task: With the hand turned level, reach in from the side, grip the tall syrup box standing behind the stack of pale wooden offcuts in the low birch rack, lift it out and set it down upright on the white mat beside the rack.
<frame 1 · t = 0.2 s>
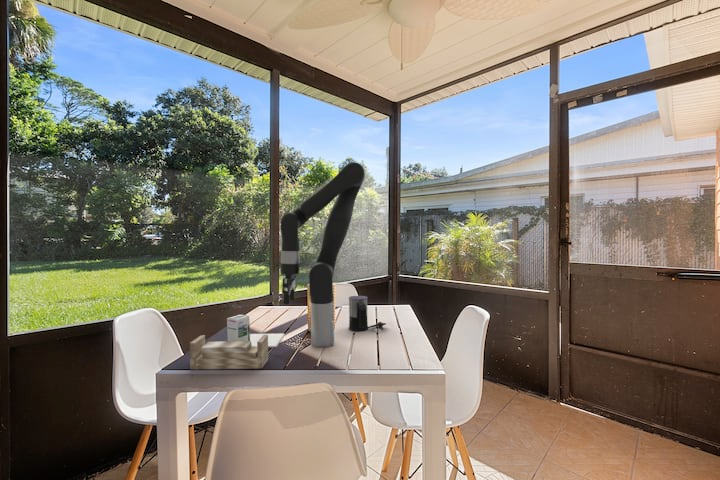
hand: (289, 302, 136), 17 cm above the table, tool pointing down, fingers open, 8 cm apart
offcut rack: (230, 364, 116), on the table
syrup box: (239, 355, 125), on the table
milk frother: (367, 329, 157), on the table
white mat: (261, 341, 140), on the table
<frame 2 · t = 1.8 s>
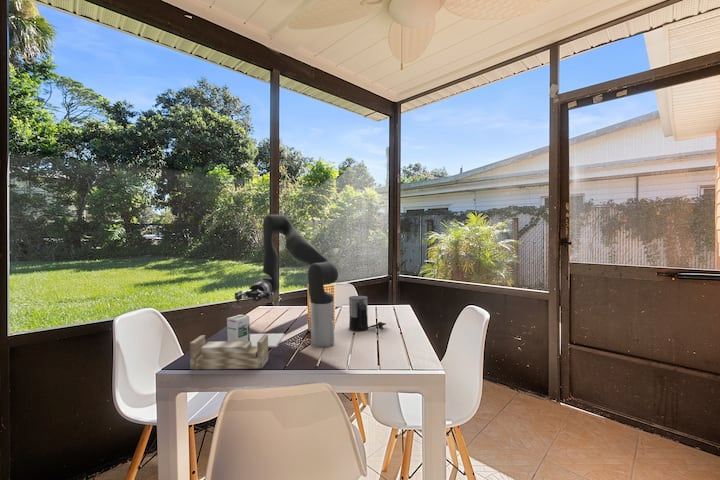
hand: (248, 298, 136), 19 cm above the table, tool horizontal, fingers open, 8 cm apart
nothing on the table moved.
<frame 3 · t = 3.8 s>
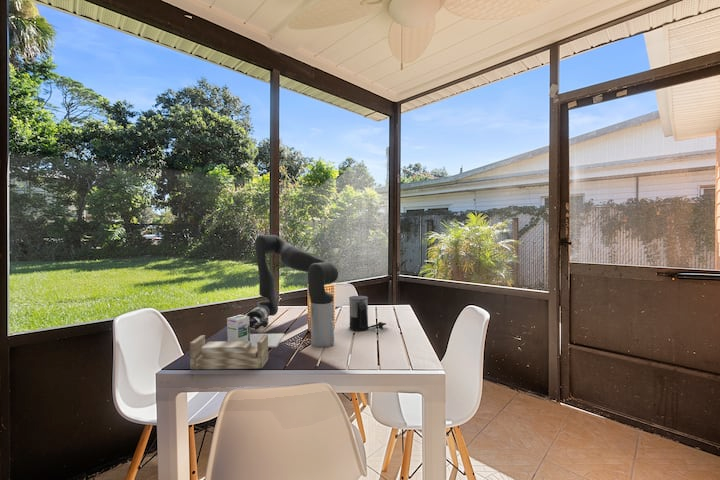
hand: (244, 327, 131), 8 cm above the table, tool horizontal, fingers open, 8 cm apart
nothing on the table moved.
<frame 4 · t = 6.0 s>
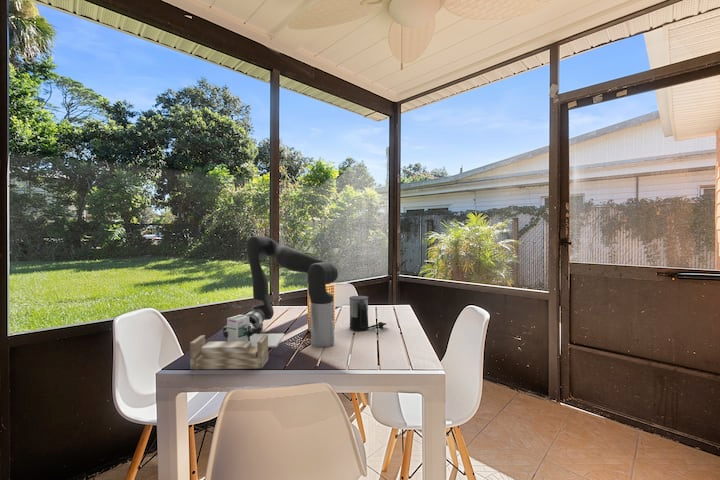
hand: (237, 334, 123), 8 cm above the table, tool horizontal, fingers closed on syrup box, 8 cm apart
syrup box: (239, 355, 125), on the table, touching gripper
everything else where it was.
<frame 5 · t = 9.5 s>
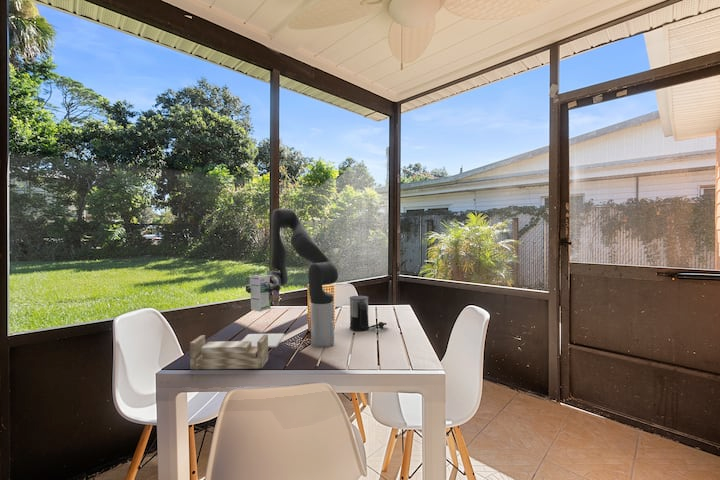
hand: (259, 290, 138), 22 cm above the table, tool horizontal, fingers closed on syrup box, 8 cm apart
syrup box: (260, 310, 140), point 13 cm above the table, touching gripper
everything else where it was.
when the fingers open (10 cm above the table, at t = 12.8 s): syrup box drops 1 cm, resting on white mat.
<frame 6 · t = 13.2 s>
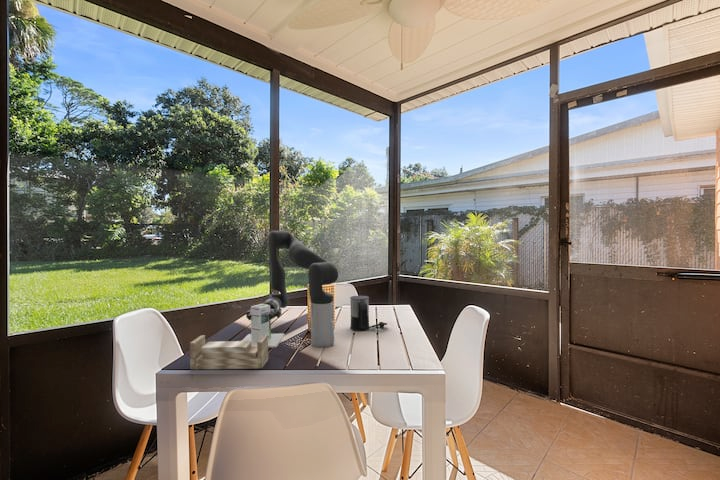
hand: (259, 317, 138), 10 cm above the table, tool horizontal, fingers open, 8 cm apart
syrup box: (261, 339, 141), resting on white mat, touching gripper
everything else where it was.
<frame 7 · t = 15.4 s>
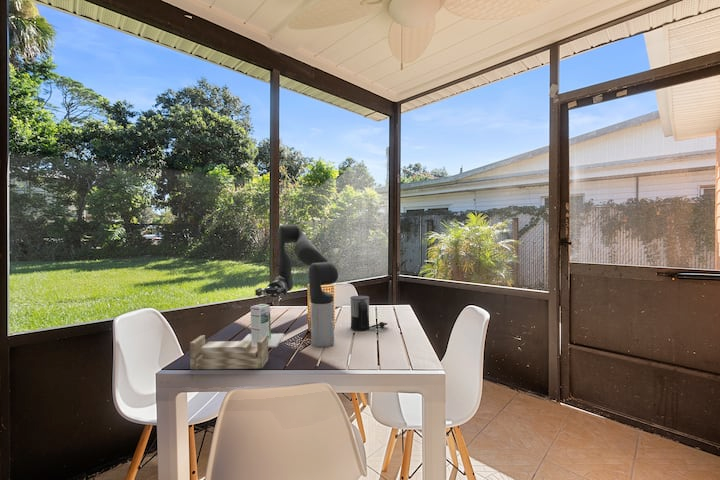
hand: (267, 293, 151), 18 cm above the table, tool horizontal, fingers open, 8 cm apart
syrup box: (261, 339, 141), resting on white mat
everything else where it was.
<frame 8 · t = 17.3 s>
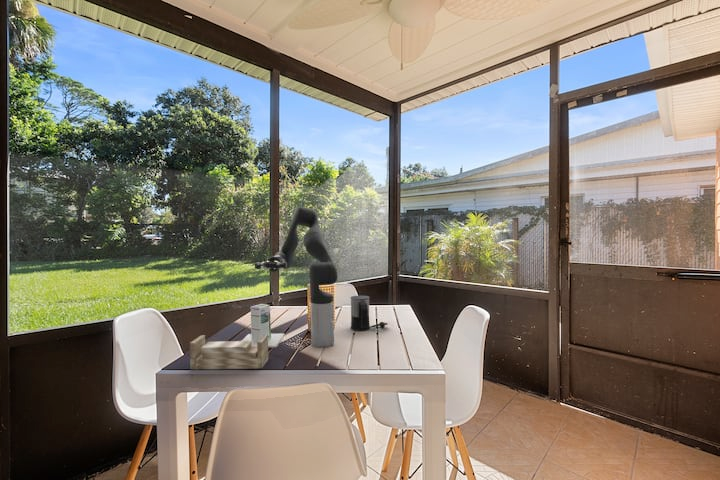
hand: (267, 267, 151), 30 cm above the table, tool horizontal, fingers open, 8 cm apart
nothing on the table moved.
at the end: syrup box inside the target area on the white mat (0.2 cm from its centre), point 0.4 cm above the white mat's base; syrup box tilted 0°; the gripper is holding nothing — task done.
